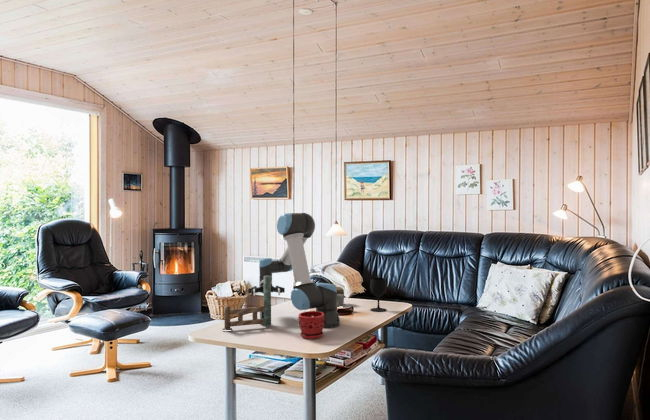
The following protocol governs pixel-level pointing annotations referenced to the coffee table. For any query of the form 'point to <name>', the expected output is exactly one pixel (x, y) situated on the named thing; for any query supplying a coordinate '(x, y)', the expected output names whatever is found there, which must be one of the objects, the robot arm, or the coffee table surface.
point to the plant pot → (311, 324)
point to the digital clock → (340, 300)
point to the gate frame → (260, 318)
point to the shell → (340, 290)
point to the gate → (252, 310)
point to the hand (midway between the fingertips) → (266, 293)
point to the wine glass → (378, 291)
